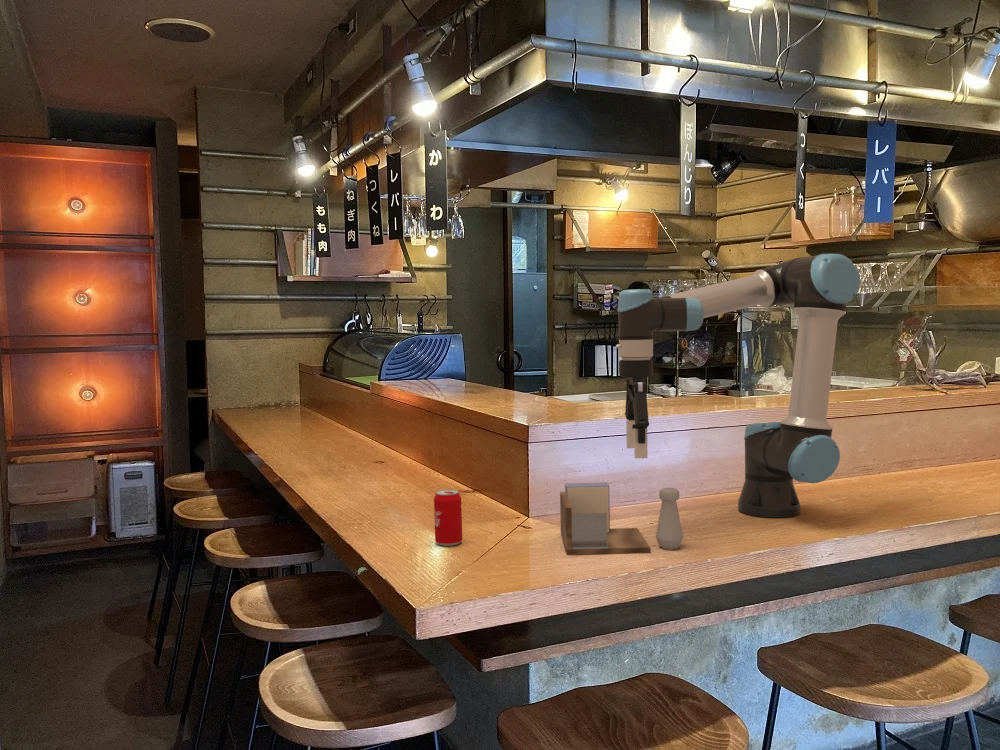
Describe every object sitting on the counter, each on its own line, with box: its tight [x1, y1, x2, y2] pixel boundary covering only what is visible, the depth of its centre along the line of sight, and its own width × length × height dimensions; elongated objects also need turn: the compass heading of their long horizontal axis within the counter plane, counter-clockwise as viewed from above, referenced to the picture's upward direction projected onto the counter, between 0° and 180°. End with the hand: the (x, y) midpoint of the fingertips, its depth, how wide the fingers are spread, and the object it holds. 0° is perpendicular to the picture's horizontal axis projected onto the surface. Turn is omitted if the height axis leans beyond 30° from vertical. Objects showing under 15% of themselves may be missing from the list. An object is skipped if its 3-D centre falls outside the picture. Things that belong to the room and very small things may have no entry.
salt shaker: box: [655, 487, 684, 551], centre depth 174 cm, size 6×6×13 cm
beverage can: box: [433, 488, 463, 547], centre depth 181 cm, size 6×6×12 cm
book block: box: [564, 481, 611, 533], centre depth 184 cm, size 10×4×11 cm, turn 90°
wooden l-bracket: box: [559, 491, 651, 556], centre depth 178 cm, size 18×16×10 cm
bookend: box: [572, 513, 609, 549], centre depth 171 cm, size 8×3×7 cm, turn 90°
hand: (636, 453), depth 179 cm, fingers open, 13 cm apart
